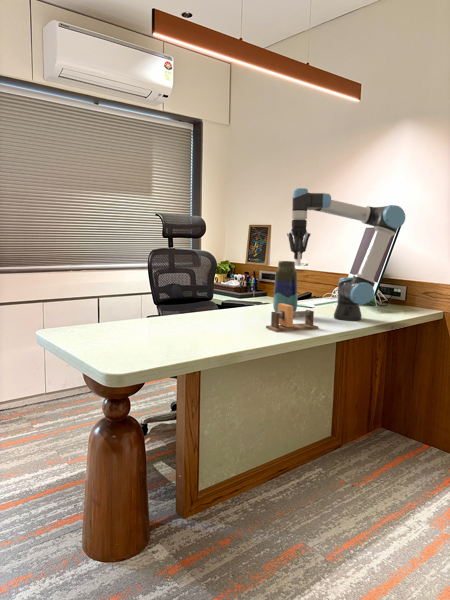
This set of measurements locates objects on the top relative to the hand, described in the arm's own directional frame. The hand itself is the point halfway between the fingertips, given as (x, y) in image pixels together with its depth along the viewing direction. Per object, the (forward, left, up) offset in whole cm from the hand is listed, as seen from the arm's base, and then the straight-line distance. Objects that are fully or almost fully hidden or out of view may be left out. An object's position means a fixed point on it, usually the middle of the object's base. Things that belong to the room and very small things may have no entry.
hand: (297, 265), depth 239 cm
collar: (+13, +12, -28) cm, 34 cm away
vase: (-7, -24, -31) cm, 40 cm away
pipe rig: (+9, +12, -30) cm, 34 cm away
